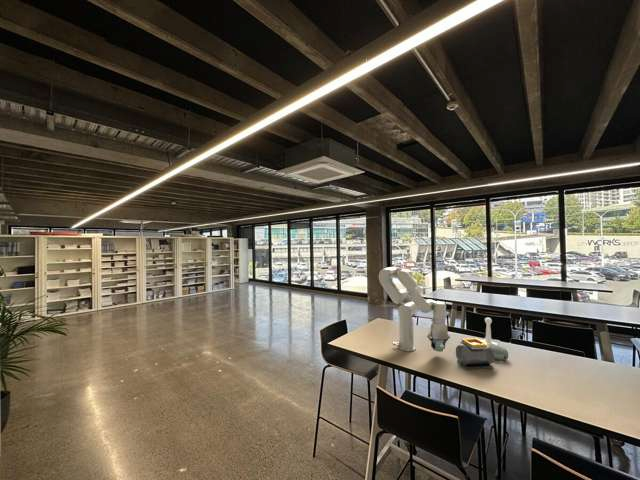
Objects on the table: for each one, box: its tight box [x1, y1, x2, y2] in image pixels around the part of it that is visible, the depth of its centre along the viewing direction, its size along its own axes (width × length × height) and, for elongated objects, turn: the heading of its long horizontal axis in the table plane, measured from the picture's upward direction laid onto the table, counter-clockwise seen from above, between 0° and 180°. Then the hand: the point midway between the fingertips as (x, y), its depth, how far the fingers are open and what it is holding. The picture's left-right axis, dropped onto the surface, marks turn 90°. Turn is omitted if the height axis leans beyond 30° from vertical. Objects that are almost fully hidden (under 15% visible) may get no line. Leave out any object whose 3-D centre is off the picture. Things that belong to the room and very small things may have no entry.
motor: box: [455, 337, 495, 371], centre depth 160 cm, size 19×11×14 cm, turn 95°
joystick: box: [479, 317, 499, 346], centre depth 192 cm, size 11×8×20 cm
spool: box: [488, 345, 509, 361], centre depth 170 cm, size 14×10×10 cm
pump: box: [432, 339, 446, 353], centre depth 172 cm, size 6×9×7 cm
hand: (438, 347), depth 174 cm, fingers closed on pump, 6 cm apart
